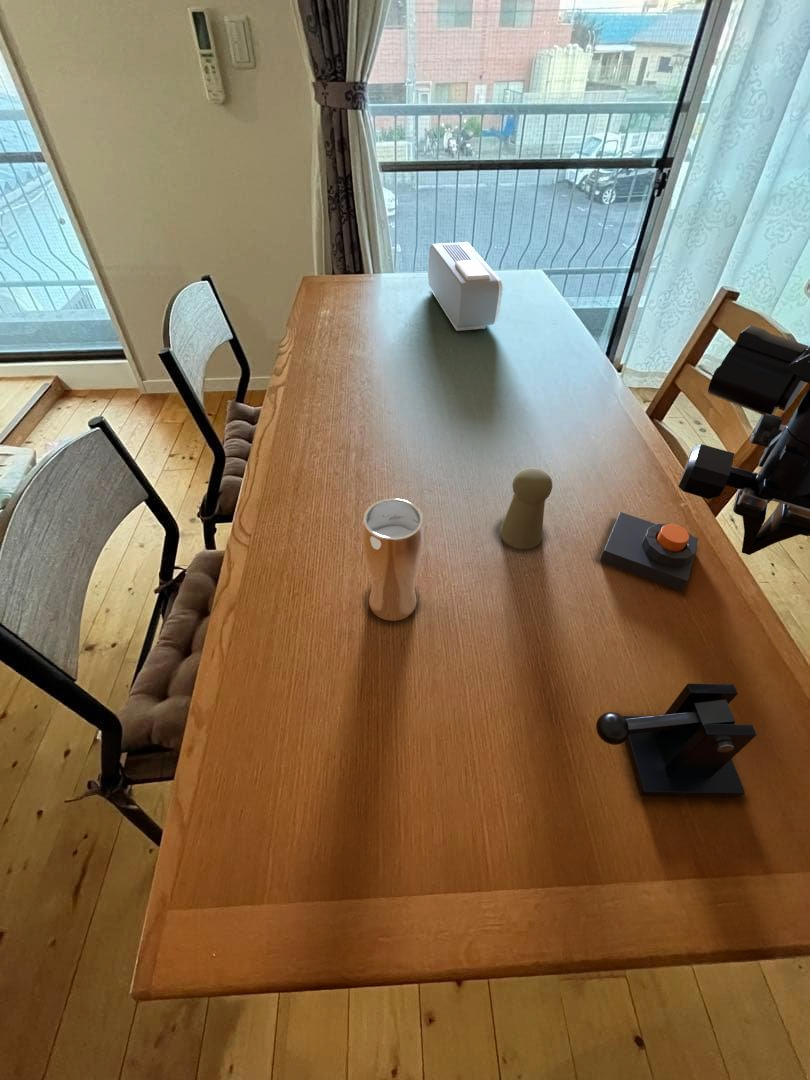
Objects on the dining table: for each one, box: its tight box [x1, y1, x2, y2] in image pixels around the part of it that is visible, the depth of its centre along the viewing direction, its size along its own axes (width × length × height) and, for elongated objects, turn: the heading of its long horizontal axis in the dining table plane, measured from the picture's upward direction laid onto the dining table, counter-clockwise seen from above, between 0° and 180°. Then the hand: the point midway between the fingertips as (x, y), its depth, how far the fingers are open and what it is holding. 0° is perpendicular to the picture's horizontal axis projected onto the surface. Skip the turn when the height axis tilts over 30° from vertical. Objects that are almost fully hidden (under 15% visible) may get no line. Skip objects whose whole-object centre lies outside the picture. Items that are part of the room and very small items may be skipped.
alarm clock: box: [427, 241, 504, 332], centre depth 129 cm, size 27×9×12 cm, turn 13°
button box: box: [599, 511, 699, 592], centre depth 77 cm, size 11×9×4 cm
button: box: [657, 523, 690, 552], centre depth 74 cm, size 4×4×2 cm
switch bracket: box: [622, 682, 757, 799], centre depth 54 cm, size 10×8×11 cm
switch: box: [595, 699, 736, 746], centre depth 52 cm, size 12×3×3 cm, turn 89°
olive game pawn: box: [499, 467, 553, 550], centre depth 77 cm, size 6×6×11 cm
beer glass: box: [362, 498, 425, 622], centre depth 66 cm, size 7×7×15 cm
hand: (745, 551), depth 62 cm, fingers closed
